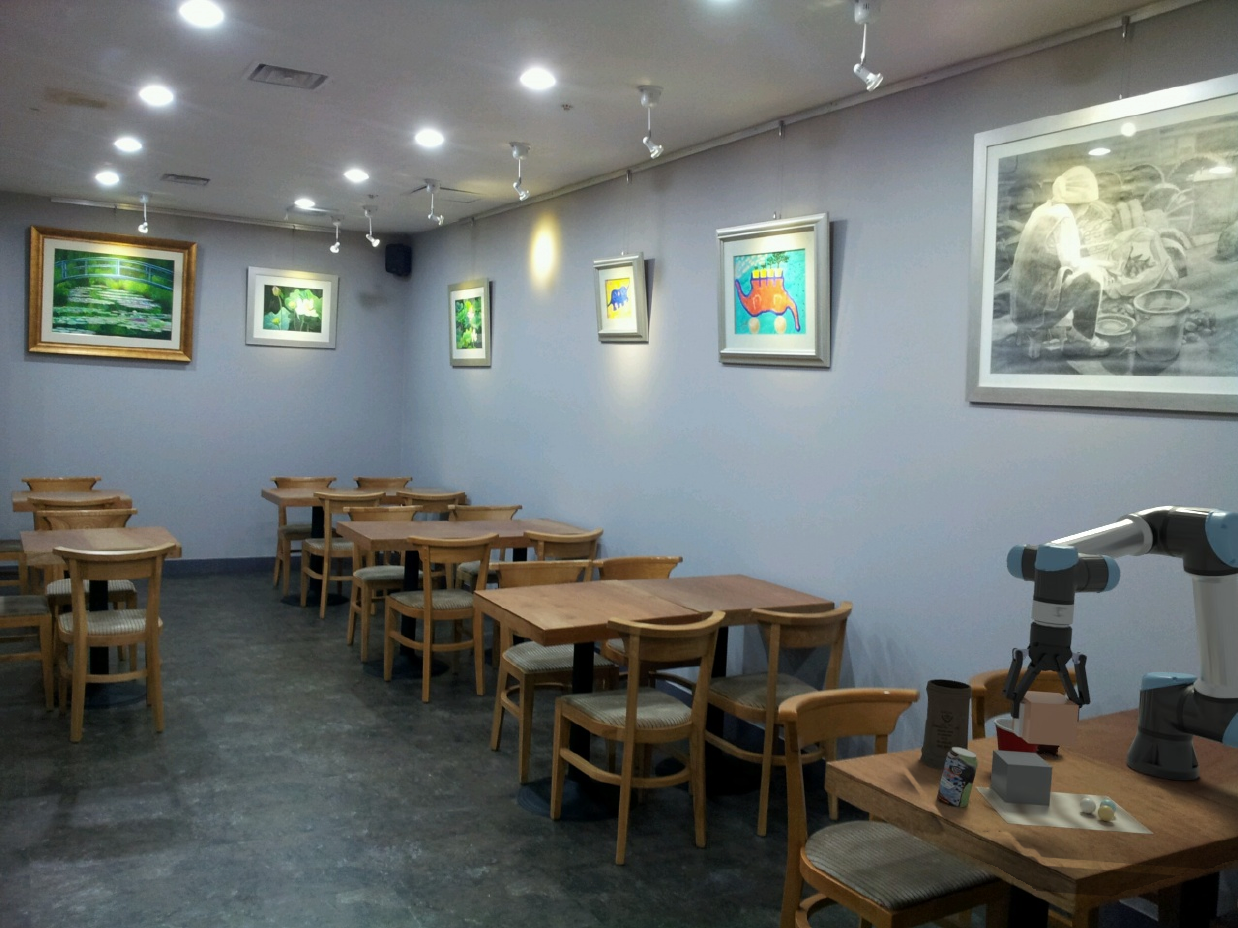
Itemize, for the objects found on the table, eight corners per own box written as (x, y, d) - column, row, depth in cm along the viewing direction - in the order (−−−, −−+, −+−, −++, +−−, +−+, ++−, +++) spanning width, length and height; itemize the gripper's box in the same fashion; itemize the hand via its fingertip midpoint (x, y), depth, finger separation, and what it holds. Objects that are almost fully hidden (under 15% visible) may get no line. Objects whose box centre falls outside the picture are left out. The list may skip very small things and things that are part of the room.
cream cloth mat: (1106, 801, 212) (1107, 795, 212) (1153, 839, 192) (1154, 833, 192) (974, 791, 213) (974, 786, 213) (1007, 829, 193) (1007, 823, 193)
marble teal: (1111, 812, 203) (1112, 797, 203) (1118, 817, 200) (1119, 803, 200) (1096, 810, 203) (1097, 796, 203) (1103, 816, 200) (1104, 801, 200)
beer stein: (972, 779, 221) (978, 689, 222) (922, 773, 223) (928, 684, 224) (961, 762, 236) (966, 677, 237) (914, 756, 238) (919, 672, 239)
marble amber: (1109, 818, 199) (1110, 803, 199) (1116, 824, 196) (1117, 809, 196) (1094, 817, 199) (1095, 802, 199) (1101, 823, 196) (1102, 808, 196)
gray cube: (1032, 789, 213) (1035, 752, 213) (1049, 805, 204) (1052, 767, 204) (990, 786, 214) (993, 749, 213) (1005, 802, 205) (1008, 763, 204)
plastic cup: (1046, 788, 219) (1050, 734, 218) (994, 781, 221) (998, 728, 220) (1035, 772, 229) (1039, 720, 229) (986, 766, 231) (990, 715, 231)
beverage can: (932, 800, 207) (936, 743, 207) (968, 802, 207) (972, 745, 206) (941, 811, 201) (945, 753, 200) (978, 814, 200) (982, 755, 200)
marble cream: (1091, 810, 203) (1092, 796, 203) (1098, 816, 200) (1099, 801, 200) (1076, 809, 203) (1077, 795, 203) (1082, 815, 200) (1084, 800, 200)
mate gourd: (1047, 746, 249) (1052, 687, 249) (1072, 757, 242) (1076, 696, 242) (1024, 748, 247) (1028, 688, 246) (1048, 759, 239) (1052, 697, 239)
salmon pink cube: (1056, 732, 201) (1059, 693, 201) (1075, 746, 192) (1078, 705, 192) (1011, 729, 201) (1014, 690, 201) (1028, 743, 192) (1031, 702, 192)
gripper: (1002, 623, 192) (993, 738, 193) (1116, 630, 192) (1107, 746, 192) (989, 615, 200) (981, 726, 201) (1099, 623, 199) (1090, 734, 200)
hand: (1042, 736), depth 197 cm, fingers closed on salmon pink cube, 9 cm apart
